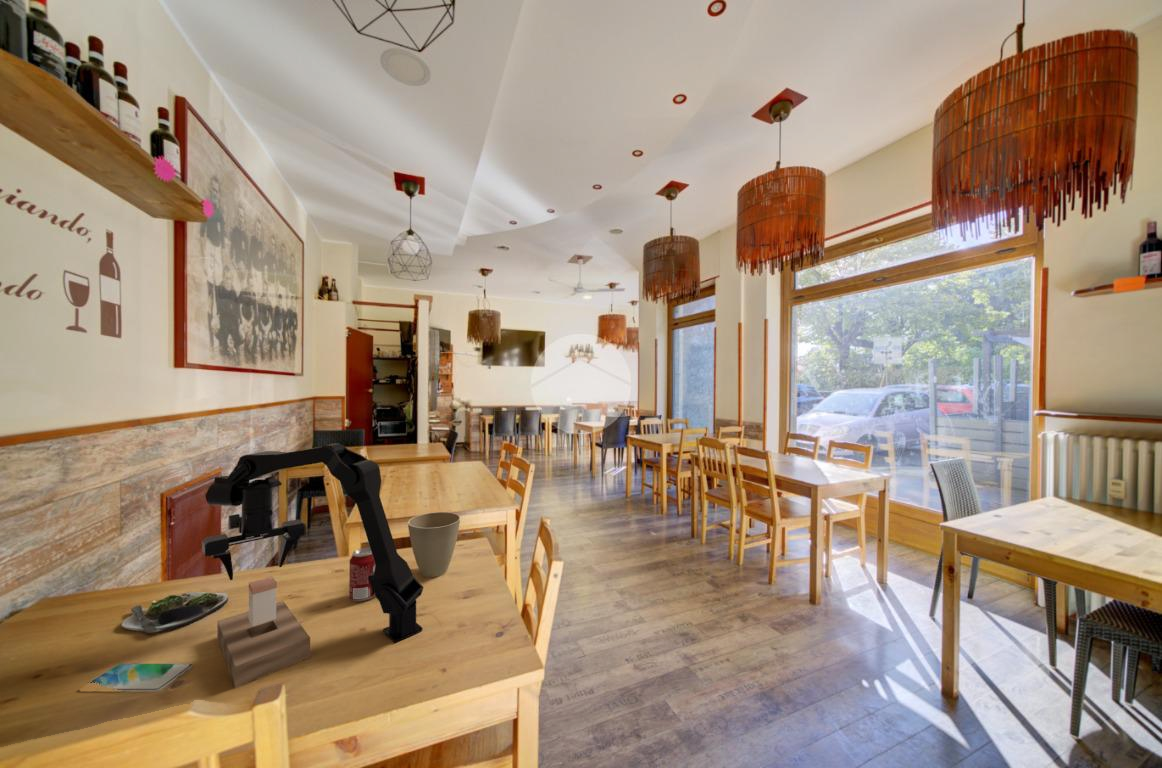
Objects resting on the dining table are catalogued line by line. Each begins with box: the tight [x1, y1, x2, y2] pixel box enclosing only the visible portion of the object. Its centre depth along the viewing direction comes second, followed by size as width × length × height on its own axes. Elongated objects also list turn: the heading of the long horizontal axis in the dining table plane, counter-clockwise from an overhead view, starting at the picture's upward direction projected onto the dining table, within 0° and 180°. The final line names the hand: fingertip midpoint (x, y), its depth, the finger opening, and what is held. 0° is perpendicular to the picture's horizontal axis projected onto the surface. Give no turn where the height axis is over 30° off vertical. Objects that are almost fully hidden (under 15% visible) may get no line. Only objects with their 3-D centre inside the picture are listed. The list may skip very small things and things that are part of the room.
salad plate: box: [121, 591, 229, 634], centre depth 101 cm, size 19×18×5 cm
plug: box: [248, 576, 278, 626], centre depth 89 cm, size 4×4×8 cm
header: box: [216, 600, 311, 689], centre depth 89 cm, size 22×12×4 cm, turn 48°
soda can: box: [348, 547, 376, 602], centre depth 110 cm, size 7×7×12 cm
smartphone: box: [89, 663, 193, 693], centre depth 79 cm, size 7×1×15 cm
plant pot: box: [407, 511, 461, 578], centre depth 125 cm, size 15×15×16 cm
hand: (256, 572), depth 97 cm, fingers open, 9 cm apart
